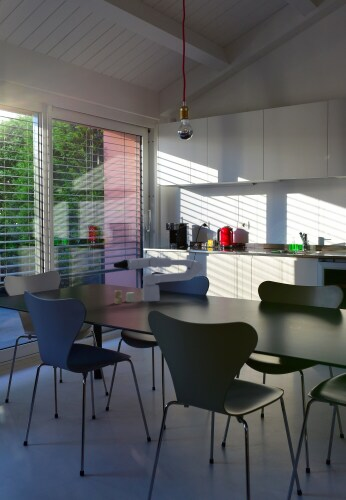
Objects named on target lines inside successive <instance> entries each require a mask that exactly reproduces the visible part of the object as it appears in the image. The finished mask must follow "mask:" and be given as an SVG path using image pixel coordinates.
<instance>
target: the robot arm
mask: <svg viewBox="0 0 346 500" xmlns="http://www.w3.org/2000/svg"><path fill="white" fill-rule="evenodd" d="M127 258H128V259H123V260H121V261H117V262H114V263H113V268H115V269H124V270H128V269H129V270H136V269H146V268H154V269H155V268H170V267H172V266H184V267H186V268H187V269H185V271H184V272H172V273H171V272H170V273H150V272H146V273H144V274H143V275H142V281H143V284H142V299H141V301H142V302H159V301H161V300H160V286H159V285H158V284H159V283H168V282H169V283H170V282H178V281H179V282H181V281H182V282H183V281H190V280H191V279H193V278H195V277H196V276H197V275H199V274H201V272H202V270H203V267H204V266H203V264H202V263H201V262H200V261H197V260H195V259H194V260H192V259H187V258H186V259H172V258H171V257H168V255H166V256H164V257H161V256H156V257H155V256H150V257H141V258H140V257H138V258H131V257H130V256H129V257H127Z"/></svg>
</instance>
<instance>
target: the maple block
mask: <svg viewBox="0 0 346 500" xmlns="http://www.w3.org/2000/svg"><path fill="white" fill-rule="evenodd" d="M114 304H115V305H122V304H123V291H122V290H118V289H117V290H114Z"/></svg>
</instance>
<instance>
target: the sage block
mask: <svg viewBox="0 0 346 500" xmlns="http://www.w3.org/2000/svg"><path fill="white" fill-rule="evenodd" d="M135 296H136V292H133V291H130V292H126V293H125V301H126V302H127V303H133V302H134V303H135V302H136V297H135Z"/></svg>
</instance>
